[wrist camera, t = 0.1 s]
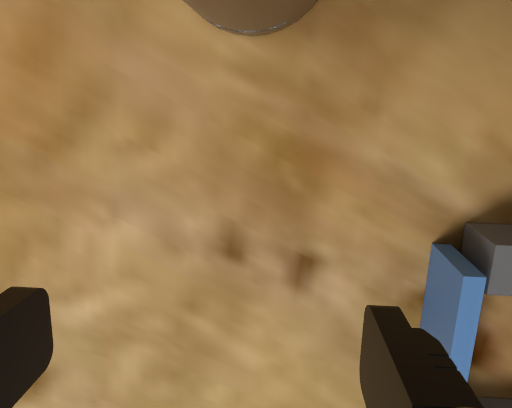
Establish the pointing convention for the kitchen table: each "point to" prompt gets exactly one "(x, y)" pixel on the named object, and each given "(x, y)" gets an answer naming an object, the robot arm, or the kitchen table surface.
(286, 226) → the kitchen table surface
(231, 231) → the kitchen table surface
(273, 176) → the kitchen table surface
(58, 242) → the kitchen table surface
